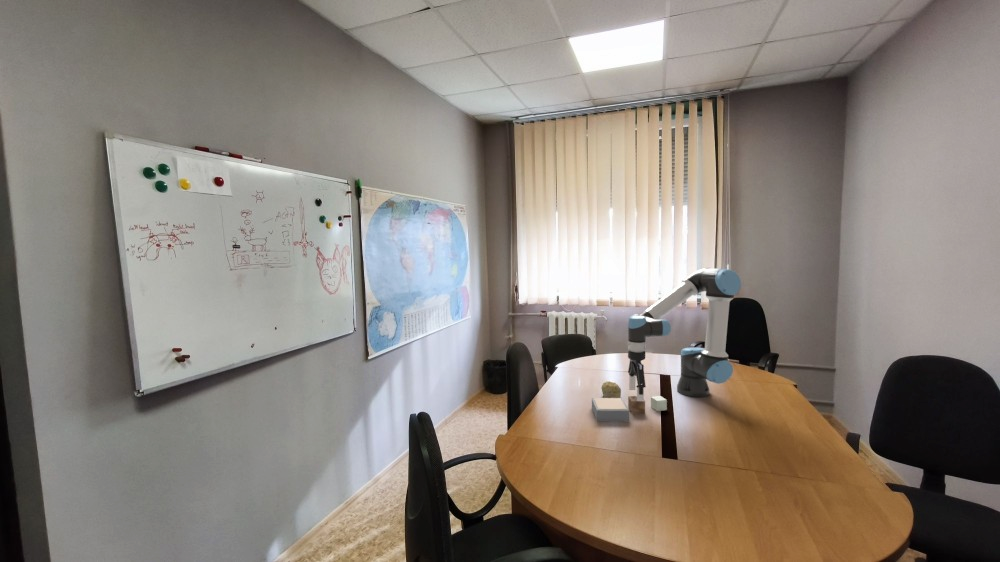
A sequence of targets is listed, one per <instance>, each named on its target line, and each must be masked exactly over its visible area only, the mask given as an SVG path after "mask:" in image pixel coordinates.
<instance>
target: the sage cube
mask: <svg viewBox="0 0 1000 562" xmlns="http://www.w3.org/2000/svg"><path fill="white" fill-rule="evenodd" d="M667 400H668V399H666V398H664V397H663V396H662V395H655V396H650V407H651V408H652V409H653V410H654V411H656V412H661V411H668V407H667V406H668V404H667V403H668V401H667Z"/></svg>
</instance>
